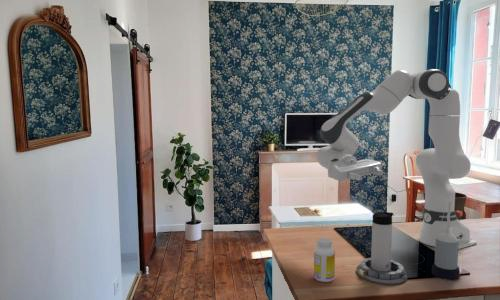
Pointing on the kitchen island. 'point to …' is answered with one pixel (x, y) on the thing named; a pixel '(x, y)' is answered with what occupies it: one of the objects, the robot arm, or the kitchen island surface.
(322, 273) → the supplement bottle
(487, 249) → the kitchen island surface
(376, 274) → the collar
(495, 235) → the kitchen island surface
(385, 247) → the travel mug
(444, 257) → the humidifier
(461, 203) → the plant pot
